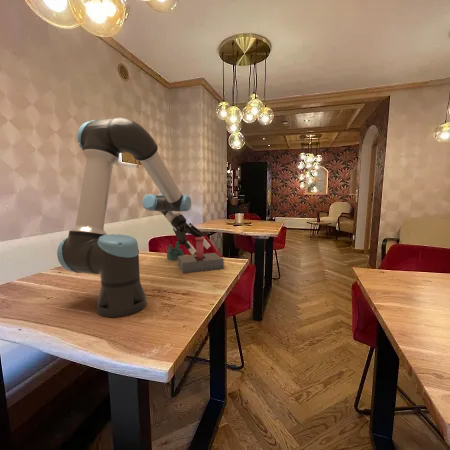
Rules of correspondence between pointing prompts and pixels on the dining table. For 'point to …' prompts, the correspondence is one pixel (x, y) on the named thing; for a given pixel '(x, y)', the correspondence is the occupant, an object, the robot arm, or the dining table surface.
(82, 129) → the robot arm
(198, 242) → the pin
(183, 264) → the socket block
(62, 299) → the dining table surface
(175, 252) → the green knobbed block
